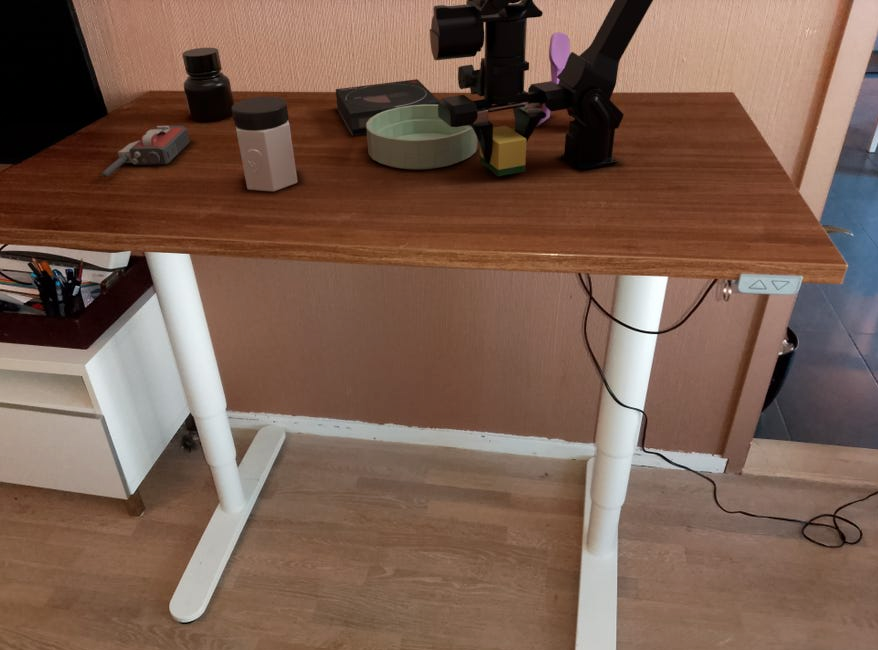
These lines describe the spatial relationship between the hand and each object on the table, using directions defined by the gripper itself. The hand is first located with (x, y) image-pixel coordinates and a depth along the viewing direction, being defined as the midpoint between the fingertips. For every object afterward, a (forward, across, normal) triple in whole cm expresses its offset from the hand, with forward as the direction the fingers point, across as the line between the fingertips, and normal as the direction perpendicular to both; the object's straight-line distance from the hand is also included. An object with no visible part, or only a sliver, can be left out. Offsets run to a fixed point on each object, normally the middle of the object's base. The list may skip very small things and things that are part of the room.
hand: (502, 160), depth 111 cm
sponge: (+1, 0, 0) cm, 1 cm away
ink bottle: (+2, +39, -52) cm, 65 cm away
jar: (+2, +34, -12) cm, 36 cm away
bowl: (+2, +8, -14) cm, 16 cm away
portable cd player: (+2, +8, -34) cm, 35 cm away
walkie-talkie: (+2, +52, -31) cm, 61 cm away
